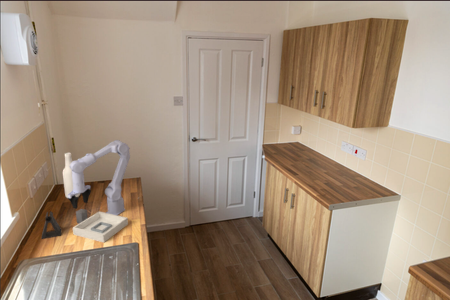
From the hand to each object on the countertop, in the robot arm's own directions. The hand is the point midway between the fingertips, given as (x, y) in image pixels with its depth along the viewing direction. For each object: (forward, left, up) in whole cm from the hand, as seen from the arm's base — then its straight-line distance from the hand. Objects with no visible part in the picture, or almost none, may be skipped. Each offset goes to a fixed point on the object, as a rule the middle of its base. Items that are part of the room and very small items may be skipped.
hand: (80, 205), depth 170 cm
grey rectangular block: (0, 0, -11) cm, 11 cm away
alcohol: (-24, -31, -11) cm, 41 cm away
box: (+2, +15, -11) cm, 18 cm away
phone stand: (+16, -5, -11) cm, 20 cm away
